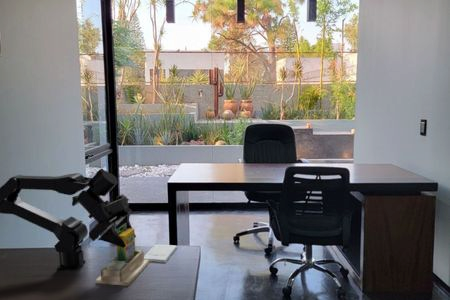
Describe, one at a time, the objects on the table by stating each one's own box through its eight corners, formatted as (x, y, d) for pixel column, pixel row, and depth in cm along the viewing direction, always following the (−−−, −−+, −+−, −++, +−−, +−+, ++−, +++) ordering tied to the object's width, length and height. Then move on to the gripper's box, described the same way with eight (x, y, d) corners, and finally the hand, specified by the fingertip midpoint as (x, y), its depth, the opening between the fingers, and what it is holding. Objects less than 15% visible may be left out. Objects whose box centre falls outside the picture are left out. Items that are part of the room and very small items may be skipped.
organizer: (96, 283, 119) (95, 266, 118) (120, 260, 134) (119, 246, 134) (128, 285, 117) (127, 269, 116) (149, 262, 132) (148, 248, 132)
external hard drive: (177, 249, 145) (165, 264, 133) (155, 248, 146) (141, 262, 134) (176, 245, 144) (165, 259, 132) (155, 244, 146) (141, 258, 134)
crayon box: (126, 267, 124) (124, 230, 123) (117, 266, 125) (115, 230, 123) (136, 257, 131) (134, 222, 130) (127, 257, 132) (125, 222, 130)
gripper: (96, 196, 116) (134, 236, 116) (124, 182, 134) (157, 216, 134) (72, 221, 119) (109, 260, 118) (103, 204, 137) (135, 237, 137)
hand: (130, 242), depth 127 cm, fingers closed on crayon box, 7 cm apart
